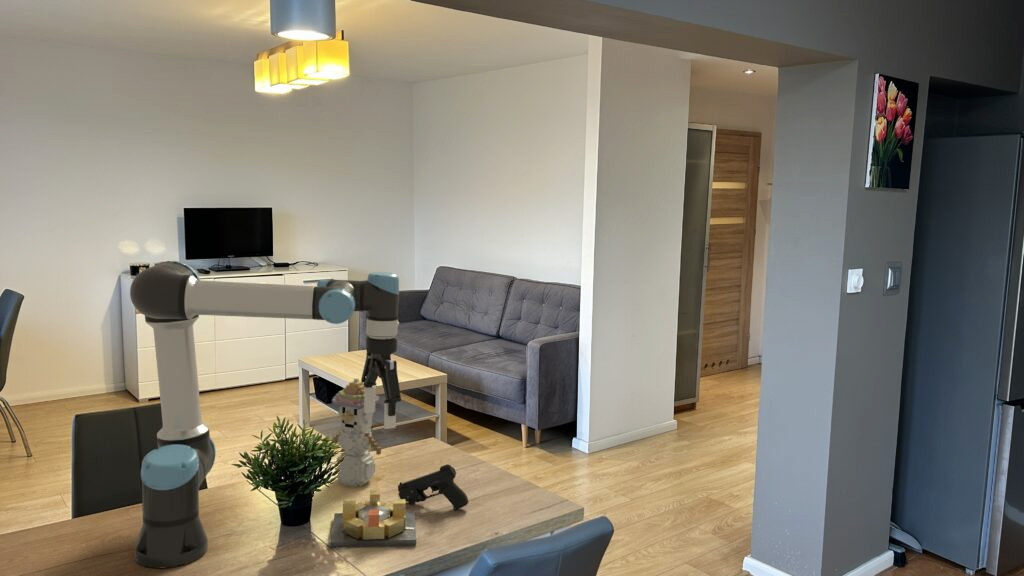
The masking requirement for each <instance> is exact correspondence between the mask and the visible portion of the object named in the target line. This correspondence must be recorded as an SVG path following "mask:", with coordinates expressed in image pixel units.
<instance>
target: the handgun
mask: <svg viewBox="0 0 1024 576" xmlns="http://www.w3.org/2000/svg"><path fill="white" fill-rule="evenodd" d="M456 476H457V472H456V469H455V468H454V466H452V465H451V464H445V465H441V466H440V468H439V469H438V470H437V471H434V472H430V473H428V474H425V475H422V476H418V477H416V478H413V479H410V480H408V481H405V482H399V484H398V485H397V489H398V493H397V494H398V497H399V499H406V502H408V504H409V505H410V506H411V505H414V504H415V503H420V502H421V503H422V502H425V501H426V499H429V498H432V497H437V496H439V495H443V496H444V497H445V498H446V499H447V500H448V501H449V502H450V503H451V506H452V507H453V509H454V511H457V510H459V509H461V508H463V507H466V506H467V505H468V504H469V499H468V496H467V494H466V493H465V491H464V490H462V489H461V488H460V487H459V486H458V485H457V483H455V482H454V480H455V478H456ZM429 488H430V489H431V492H432V493H431V494H429V495H427V494H425V491H427V490H428V489H429ZM437 491H438V492H437ZM434 492H436V493H434Z"/></svg>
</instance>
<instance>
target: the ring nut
mask: <svg viewBox="0 0 1024 576" xmlns="http://www.w3.org/2000/svg"><path fill="white" fill-rule="evenodd" d="M369 491H370V492H369V500H366V501H364V502H361V501H360V502H358V503H357V501H356V499H355V500H353V499H352V500H343V502H342V513H343V518H342V531H344V533H346V534H348V535H350V536H353V537H355V538H357V539H359V538H361V537H363V540H365V539H384V536H385V537H388V538H390V537H392V536H394V535H396V534H398V533H400V532H402V531H404V529H405V518H406V517H405V511H407V509H406V506H407V505H406V504H407V503H406V502H407V501H406V499H400V498H399V499H397V498H396V499H392V501H387V502H386V501H385V500H381V489H369ZM371 505H380V506H385V507H387V508H389V510H390V518H388V519H386V520H384V521H379V510H369V522H365V521H363V520H360V519H358V515H359V510H360V509H361V508H363V507H366V506H371Z"/></svg>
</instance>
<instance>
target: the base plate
mask: <svg viewBox="0 0 1024 576" xmlns="http://www.w3.org/2000/svg"><path fill="white" fill-rule="evenodd" d="M369 510H379V521H384V520H386V519H388V518H390V510H389V508H387V507H385V506H380V505H371V506H366V507H363V508H361V509H360V510H359V515H358V519H360V520H363V521H365V522H369ZM405 517H406V518H405V529H404V531H402V532H400V533H398V534H396V535H394V536H392V537H390V538H388V537H385V536H384V539H365V540H363V537H361V538H359V539H357V538H355V537H353V536H350V535H348V534H346V533H344V531H342V518H343V512H335V513H334V516H333V521H332V528H331V533H330V539H329V549H352V548H354V549H355V548H357V549H358V548H380V547H381V548H384V547H385V548H386V547H389V548H390V547H412V546H413V547H415V546H417V532H416V530H417V529H416V517H415V511H413V510H412V511H410V510H409V511H407V510H406V511H405Z"/></svg>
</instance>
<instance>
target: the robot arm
mask: <svg viewBox="0 0 1024 576" xmlns="http://www.w3.org/2000/svg"><path fill="white" fill-rule="evenodd" d="M129 297H130V300H131V303H132V304H133V307H134V308H135V309H136V310H137V311H138V312H139V313H141V314H142V315H144V321H145V323H146V324H147V325H149V327H151V328H152V330H153V336H154V339H153V340H154V349H155V350H154V351H155V357H156V369H157V378H158V379H157V380H158V387H159V390H158V391H159V398H160V400H159V401H160V408H161V409H160V410H161V418H162V419H161V420H162V427H161V428H160V429H159V430H158V432H157V434H156V439H157V449H156V448H154V449H152V450H151V451H149V452H148V453H147V454H146V455H145V456H144V457H143V459H142V461H141V468H140V479H141V499H142V500H141V502H142V503H141V504H142V525H141V528H140V531H139V535H138V538H137V540H136V542H135V546H134V559H135V561H136V563H137V564H139V565H140V564H141V566H143V565H144V566H143V567H146V566H149V567H148V568H151V567H170V568H173V567H172V566H176V567H179V566H178V565H181V566H183V565H182V564H184V565H187V564H186V563H188V564H190V563H192V561H193V562H195V561H197V560H199V559H200V558H201V556H202V557H203V556H204V555H205V554H206V553H207V551H208V547H209V545H208V541H209V540H208V536H207V533H206V531H205V528H204V526H203V523H202V521H201V518H200V509H199V508H200V505H199V504H200V501H199V500H200V499H199V497H200V496H199V494H200V486H201V485H202V483H203V482H204V480H205V479H206V477H207V475H208V474H210V472H211V470H212V468H213V466H214V464H215V459H216V455H217V454H216V445H215V442H214V441H213V439H212V437H211V436H210V435H211V434H210V427H209V425H208V424H206V423H205V422H203V421H202V411H201V399H200V388H199V387H200V386H199V375H198V367H197V356H196V355H197V354H196V346H195V345H196V344H195V335H194V334H195V333H194V324H195V323H196V322H197V320H198V319H199V318H200V316H217V317H220V316H221V317H242V318H244V317H245V318H271V319H294V320H296V319H297V320H317V321H325V322H327V323H329V324H333V325H339V324H343V323H345V322H347V321H348V320H349V319H350V318H351V317H352V316H353V315H354V312H361V313H362V312H366V325H365V326H366V329H365V333H366V335H367V336H366V338H365V350H366V355H365V356H366V358H365V363H364V366H363V369H362V370H363V371H362V375H361V379H360V381H362V382H363V384H364V387H365V394H364V413H371V412H373V413H376V404H375V398H376V394H377V393H376V391H377V387H376V386H377V380H378V378H380V379H381V383H382V388H383V392H384V397H385V400H384V401H383V403H384V413H383V414H384V416H383V418H384V419H383V429H384V430H389V429H395V428H396V427H397V424H396V423H397V403H398V402H401V401H402V397H401V396H402V395H401V390H400V384H399V377H398V369H397V368H398V365H397V363H398V362H397V360H395V359H393V360H392V358H391V355H392V354H395V353H396V352H397V350H398V337H397V335H398V327H399V325H400V322H399V302H400V278H399V276H398V275H397V274H396V273H393V272H386V271H384V272H383V271H379V272H377V271H375V272H374V271H373V272H370V273H369V274H368V275H367V278H366V280H352V279H351V280H349V279H334V278H331V279H319V280H318V281H317V283H316V286H313V285H295V284H276V283H261V282H259V283H257V282H242V281H241V282H238V281H236V282H235V281H222V280H221V281H219V280H218V281H217V280H201V278H200V276H199V274H198V272H196V270H195V269H194V268H193V267H192V266H191V265H189V264H187V263H185V262H182V261H178V260H167V261H162V262H158V263H156V264H155V265H153V266H150V267H147V268H145V269H144V270H141V271H140V272H139V273H138V274H137V275H136V276H135V277H134V278H133V280H132V282H131V285H130V288H129ZM198 558H199V559H198ZM196 559H197V560H196ZM194 560H195V561H194ZM189 562H190V563H189Z"/></svg>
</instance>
